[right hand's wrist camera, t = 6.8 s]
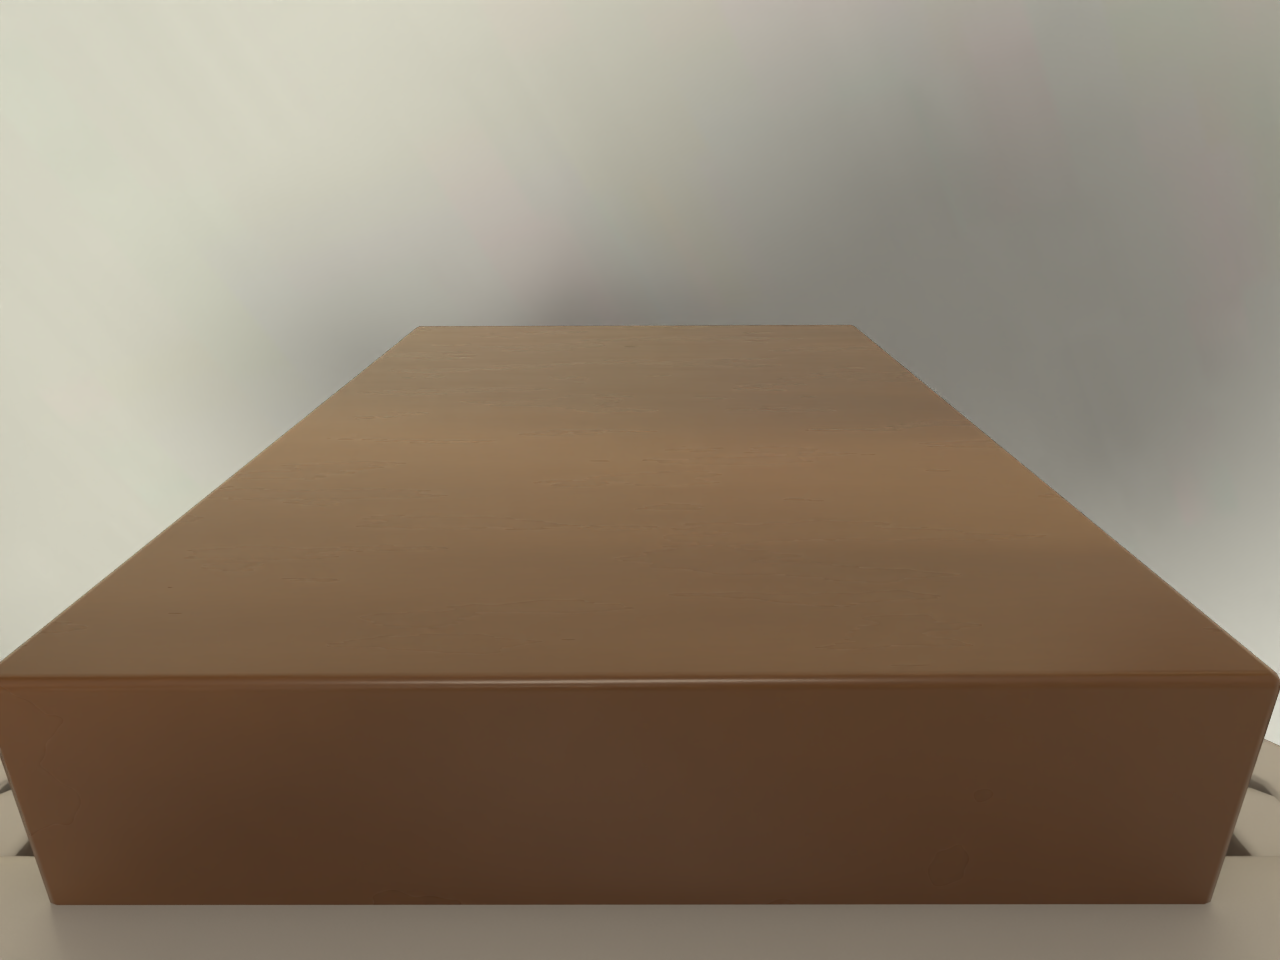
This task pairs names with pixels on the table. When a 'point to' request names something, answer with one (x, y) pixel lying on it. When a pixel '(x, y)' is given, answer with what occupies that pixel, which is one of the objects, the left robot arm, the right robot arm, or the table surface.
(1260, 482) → the table surface
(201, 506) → the box
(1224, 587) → the table surface
